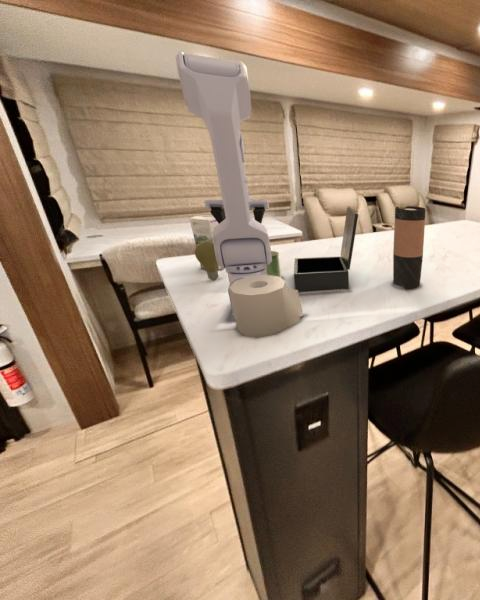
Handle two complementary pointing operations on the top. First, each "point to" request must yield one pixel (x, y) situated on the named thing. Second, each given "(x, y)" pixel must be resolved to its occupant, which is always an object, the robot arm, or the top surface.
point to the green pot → (274, 265)
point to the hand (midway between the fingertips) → (243, 236)
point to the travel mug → (408, 246)
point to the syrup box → (203, 229)
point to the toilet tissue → (264, 305)
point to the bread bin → (320, 274)
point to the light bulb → (207, 259)
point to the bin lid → (349, 236)
